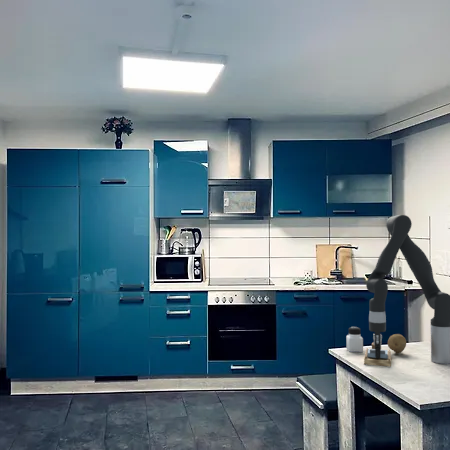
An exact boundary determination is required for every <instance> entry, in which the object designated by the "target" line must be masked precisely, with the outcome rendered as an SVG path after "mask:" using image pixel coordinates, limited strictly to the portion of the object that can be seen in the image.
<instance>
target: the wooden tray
mask: <svg viewBox="0 0 450 450" xmlns="http://www.w3.org/2000/svg"><path fill="white" fill-rule="evenodd" d="M368 349H369V348H368V347H366V349H365V353H364V356H363V357H364V358H363V365H364V364H367V366H379V367H380V366H381V367H389V368H390V367H392V352H391V349H387V350H388V359H387V358H373V357H368Z"/></svg>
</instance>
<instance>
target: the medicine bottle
mask: <svg viewBox="0 0 450 450" xmlns="http://www.w3.org/2000/svg"><path fill="white" fill-rule="evenodd" d="M345 338H346V349H347V351H349V352H351V353H357V352H358V353H359V352H360V353H361V352H362V353H363V352H364V338H363V336H361V328H360V327H357V326H351V327H349V328H348V334H347V335H346V337H345Z"/></svg>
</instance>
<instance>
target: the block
mask: <svg viewBox="0 0 450 450" xmlns="http://www.w3.org/2000/svg"><path fill="white" fill-rule="evenodd" d="M380 348H381V349H380V350H382V345H381V346H380ZM371 349H375V345H374V341H373V342H372V343H371Z"/></svg>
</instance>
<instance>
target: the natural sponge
mask: <svg viewBox="0 0 450 450" xmlns="http://www.w3.org/2000/svg"><path fill="white" fill-rule="evenodd" d="M406 346H407V340H406V337H404V336H403V335H402V334H400V333H395V334H392V335H390V336H389V338H388V340H387V347H388V349H389V350H390V351H391V350H392V351H393V352H394V353H395V354H397V355H398V354H402V352H403V351H404V350H405V349H406Z"/></svg>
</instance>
